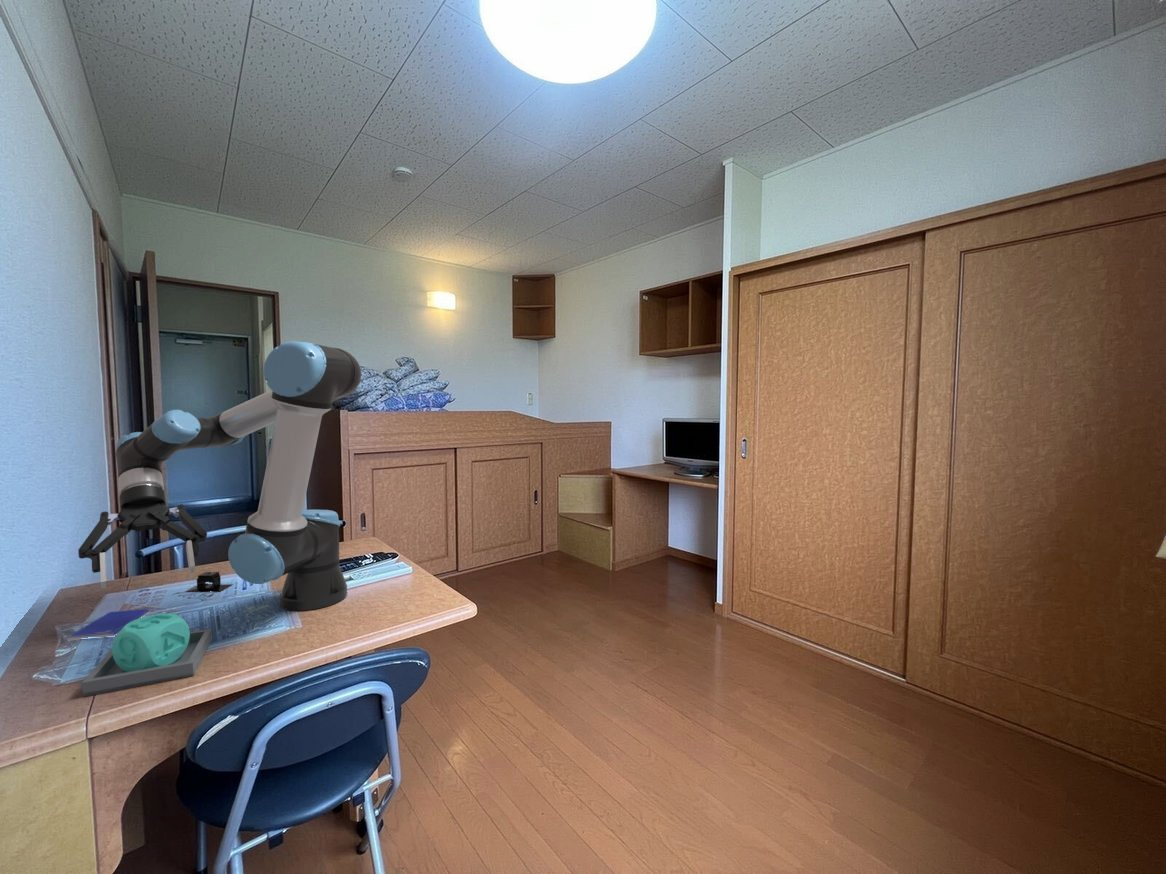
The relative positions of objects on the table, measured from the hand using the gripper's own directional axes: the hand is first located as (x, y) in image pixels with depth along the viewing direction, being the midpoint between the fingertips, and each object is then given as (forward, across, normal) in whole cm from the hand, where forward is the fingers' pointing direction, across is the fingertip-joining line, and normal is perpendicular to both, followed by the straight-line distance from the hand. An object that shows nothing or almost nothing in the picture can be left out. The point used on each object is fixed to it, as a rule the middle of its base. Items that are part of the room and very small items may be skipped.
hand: (150, 577), depth 99 cm
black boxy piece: (-9, -14, -31) cm, 35 cm away
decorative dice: (+18, +1, -1) cm, 18 cm away
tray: (+18, 0, -1) cm, 18 cm away
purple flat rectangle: (0, +6, -22) cm, 23 cm away
